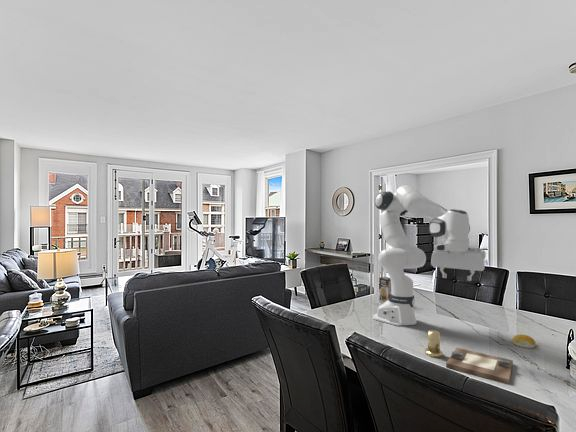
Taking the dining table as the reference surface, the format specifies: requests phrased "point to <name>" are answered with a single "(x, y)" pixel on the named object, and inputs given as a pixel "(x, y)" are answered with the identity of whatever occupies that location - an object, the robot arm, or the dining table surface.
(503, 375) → the board
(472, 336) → the dining table surface
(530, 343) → the bread roll
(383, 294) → the coffee box
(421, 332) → the dining table surface
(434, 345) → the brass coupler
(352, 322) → the dining table surface
